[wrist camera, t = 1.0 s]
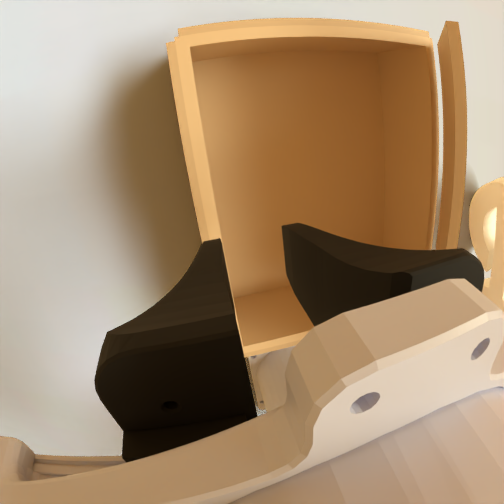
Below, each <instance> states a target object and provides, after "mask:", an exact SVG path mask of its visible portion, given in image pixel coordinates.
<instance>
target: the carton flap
mask: <svg viewBox="0 0 504 504" xmlns="http://www.w3.org/2000/svg"><path fill="white" fill-rule="evenodd" d="M437 46H438V54H439V63H440V73H441V85H442V102H443V175H442V192H441V205H440V216H439V225H438V234H437V242H436V249H435V250H445V249H457V245H458V239H459V232H460V225H461V217H462V209H463V199H464V188H465V175H466V156H467V103H466V84H465V71H464V61H463V52H462V44H461V37H460V31H459V24H458V22H453V21H446V22H445V25H444V28H443V31H442V33H441V36H440V39H439V42H438V44H437Z"/></svg>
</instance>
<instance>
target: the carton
mask: <svg viewBox="0 0 504 504" xmlns="http://www.w3.org/2000/svg"><path fill="white" fill-rule="evenodd" d="M178 34H179V37H174V38H175V41H174V42H169V43H166V46H167V53H168V60H169V67H170V73H171V80H172V86H173V92H174V99H175V105H176V111H177V117H178V122H179V128H180V134H181V139H182V145H183V150H184V156H185V161H186V166H187V172H188V177H189V182H190V187H191V192H192V197H193V202H194V207H195V212H196V217H197V221H198V226H199V231H200V236H201V240H202V243H203V241H208V240H213V239H218V238H220V239H221V242H222V246H223V251H224V256H225V261H226V267H227V272H228V277H229V282H230V287H231V292H232V297H233V302H234V307H235V315H236V322H237V326H238V330H239V334H240V339H241V343H242V348H243V353H244V357H245V358H246V357H250V356H255V355H259V354H263V353H267V352H271V351H276V350H280V349H284V348H288V347H291V346H295V345H297V344H298V343H299V342H300V341H301V340H302V339H303V338H304V337H305V336H306V334H307V333H308V332H309V331H310V330H311V329H312V328H313V327H314V325H313V323H312V322H311V320H310V319H309V317H308V315H307V314H306V312H305V310H304V309H303V307H302V306H301V304H300V302H299V301H298V299H297V297H296V296H295V294H294V292H293V289H292V287H291V285H290V282H289V280H288V277H287V275H286V268H285V257H284V247H283V237H282V226H283V225H288V224H293V223H302V224H305V225H308V226H311V227H314V228H317V229H320V230H323V231H325V232H328V233H331V234H334V235H337V236H340V237H343V238H347V239H350V240H354V241H357V242H361V243H366V244H371V245H376V246H381V247H388V248H397V249H408V250H431V249H432V241H433V233H434V224H435V213H436V202H437V187H438V165H439V116H438V94H437V80H436V69H435V59H434V51H433V43H432V38H429V32H428V31H423V30H418V29H413V28H407V27H401V26H395V25H388V24H381V23H373V22H364V21H353V20H341V19H321V18H272V19H253V20H240V21H229V22H220V23H212V24H204V25H198V26H191V27H185V28H179V29H178Z"/></svg>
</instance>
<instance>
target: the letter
mask: <svg viewBox="0 0 504 504" xmlns="http://www.w3.org/2000/svg"><path fill="white" fill-rule="evenodd" d="M469 231H470V236H471V240H472V244H473V247H474V250H475V253H476V255H477V257H478V259H479V261H480V262H481V263H482V266H483V268H484V270H485V271H486V272H487V271H489V270H490V269H492V270H491V277H490V278H486V279H484V284H483V290H482V293H483V294H484V295H485V296H486V297H488V298H489V299H490V300H491V301H492V302H493V303H495V304H496V305H497V306H498V307H499V308H500V309H502V311H503V313H504V177H500V178H498V179H496V180H494V181H491V182H489V183H487V184H485V185H483V186H481V187H480V188H479V189H478V190H477V191H476V193H475V194H474V196H473V198H472V200H471V203H470V208H469Z"/></svg>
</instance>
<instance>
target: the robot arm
mask: <svg viewBox="0 0 504 504" xmlns="http://www.w3.org/2000/svg"><path fill="white" fill-rule="evenodd" d="M282 237H283V247H284V257H285V268H286V275H287V277H288V280H289V282H290V285H291V287H292V289H293V292H294V294H295V296H296V297H297V299H298V301H299V302H300V304H301V306H302V307H303V309H304V310H305V312H306V314H307V315H308V317H309V319H310V320H311V322H312V323H313V325H314V327H313V328H312V329H311V330H310V331H309V332H308V333H307V334H306V336H305V337H304V338H303V339H302V340H301V341H300V342H299V343H298V344H297V345H295V346H291V347H288V348H284V349H280V350H276V351H271V352H267V353H263V354H259V355H255V356H250V357H248V361H249V365H250V370H251V375H252V380H253V385H254V389H255V394H256V399H257V403H258V408H259V409H261V410H263V409H266V412H267V413H265V414H262V415H260V416H258V417H257V412H256V407H255V403H254V398H253V394H252V389H251V385H250V380H249V376H248V371H247V367H246V362H245V357H244V353H243V348H242V343H241V339H240V334H239V330H238V326H237V322H236V315H235V307H234V302H233V297H232V292H231V287H230V282H229V277H228V272H227V267H226V261H225V256H224V251H223V246H222V242H221V239H220V238H218V239H213V240H208V241H203V243H202V244H201V246H200V249H199V251H198V253H197V255H196V257H195V259H194V261H193V262H192V264H191V266H190V267H189V269H188V270H187V272H186V273H185V275H184V276H183V278H182V279H181V280H180V281H179V283H178V284H177V285H176V286H175V287H174V288H173V289H172V290H171V291H170V292H169V293H168V294H167V295H166V296H164V297H163V298H162V299H161V300H160V301H159V302H157V303H156V304H155V305H154V306H152V307H151V308H150V309H148V310H147V311H145V312H144V313H142V314H141V315H139V316H137V317H136V318H134V319H132V320H131V321H129V322H127V323H125V324H123V325H121V326H119V327H117V328H115V329H113V330H111V331H108V332H107V334H106V337H105V340H104V343H103V345H102V349H101V353H100V357H99V361H98V366H97V370H96V375H95V389H96V392H97V394H98V396H99V398H100V400H101V401H102V403H103V404H104V406H105V407H106V408H107V410H108V411H109V413H110V414H111V415H112V417H113V418H114V419H115V421H116V422H117V423H118V425H119V426H120V427H121V428H122V430H123V431H124V432H123V448H122V456H94V457H85V456H53V455H38V454H34V452H33V451H32V450H31V449H30V448H29V447H28V446H27V445H26V444H25V443H23V442H22V441H20V440H18V439H16V438H12V437H3V436H0V504H504V313H503V311H502V309H500V308H499V307H498V306H497V305H496V304H495V303H493V302H492V301H491V300H490V299H489V298H488V297H486V296H485V295H484V294H483V293H482V290H483V284H484V269H483V266H482V263H481V262H480V261H479V260H478V259H477V258H476V257H475V256H474V255H472V254H471V253H469V252H468V251H466V250H465V249H462V248H460V249H445V250H408V249H397V248H388V247H381V246H376V245H371V244H366V243H361V242H357V241H354V240H350V239H347V238H343V237H340V236H337V235H334V234H331V233H328V232H325V231H323V230H320V229H317V228H314V227H311V226H308V225H305V224H302V223H293V224H288V225H283V226H282Z"/></svg>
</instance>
